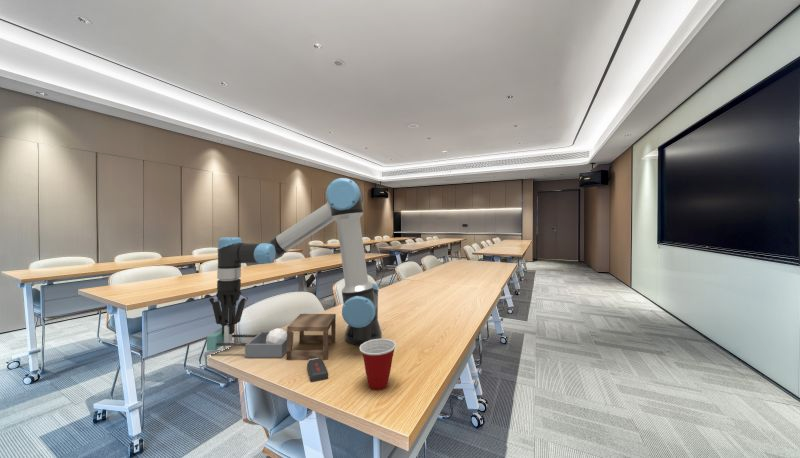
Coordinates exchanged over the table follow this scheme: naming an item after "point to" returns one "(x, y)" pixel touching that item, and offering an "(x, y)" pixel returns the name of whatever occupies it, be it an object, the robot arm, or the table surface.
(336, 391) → the table surface
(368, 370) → the plastic cup
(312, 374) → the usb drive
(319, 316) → the shelf
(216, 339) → the long-handled grey tray
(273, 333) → the geometric ball
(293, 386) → the table surface
